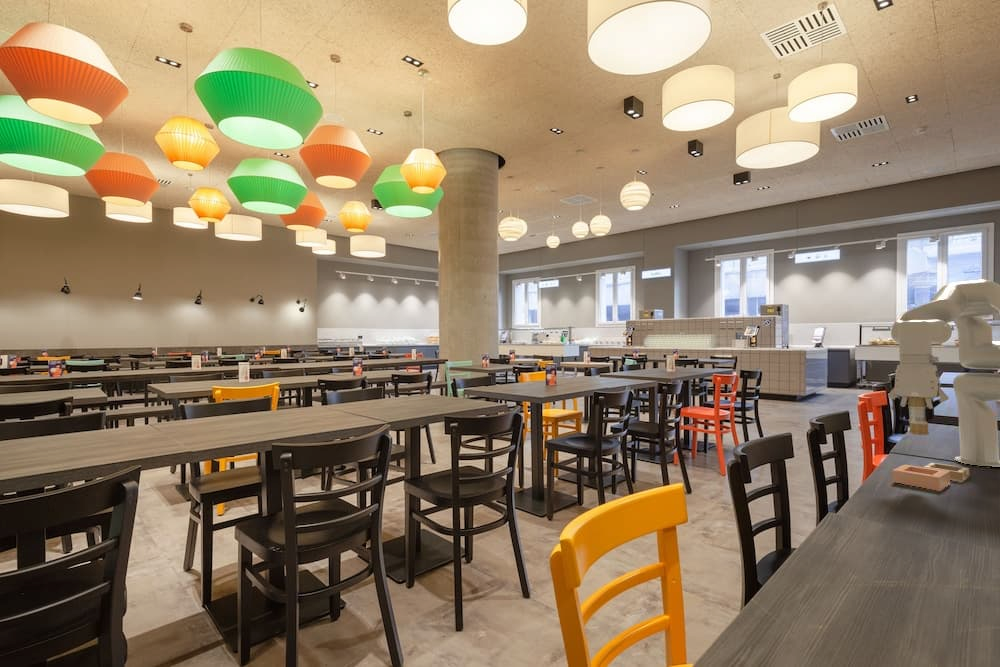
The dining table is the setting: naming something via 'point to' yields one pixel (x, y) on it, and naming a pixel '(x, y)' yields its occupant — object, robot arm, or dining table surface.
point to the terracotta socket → (922, 477)
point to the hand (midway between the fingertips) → (918, 419)
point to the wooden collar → (952, 471)
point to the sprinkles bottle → (917, 415)
